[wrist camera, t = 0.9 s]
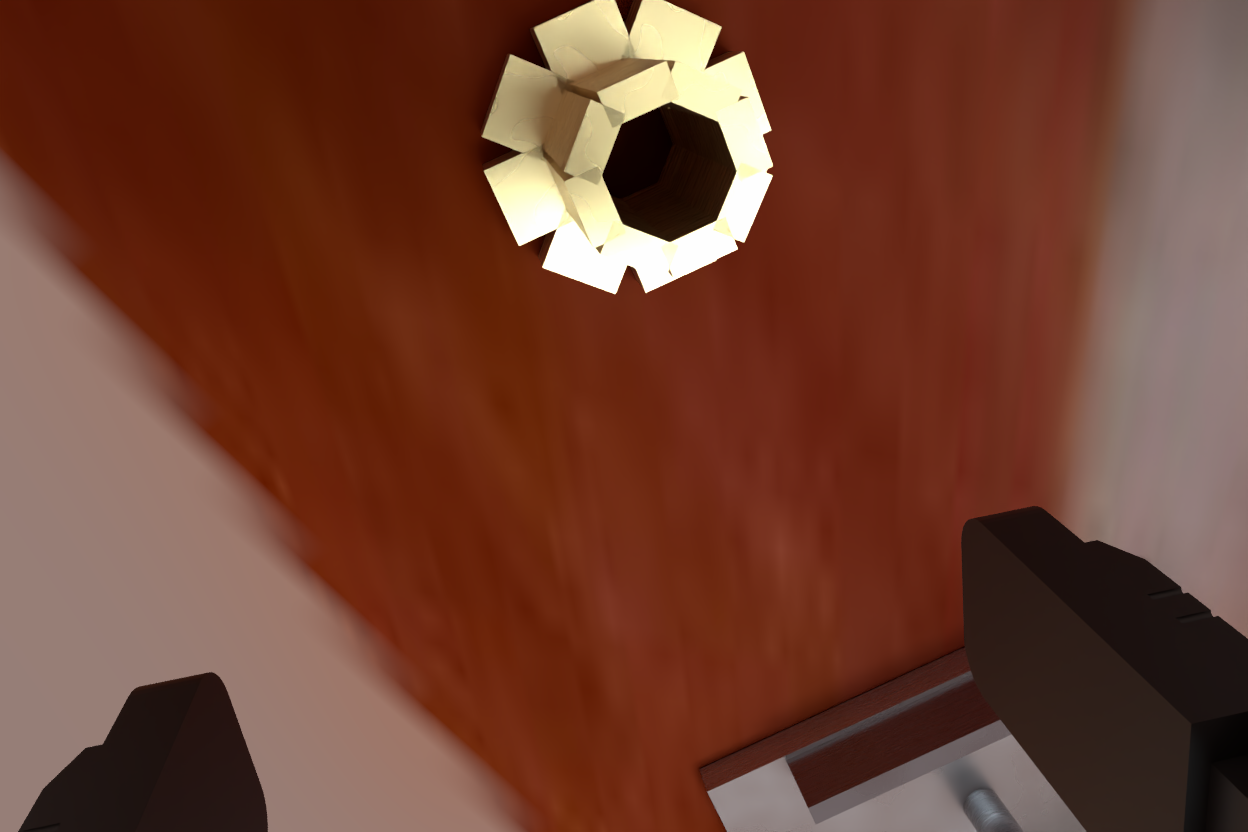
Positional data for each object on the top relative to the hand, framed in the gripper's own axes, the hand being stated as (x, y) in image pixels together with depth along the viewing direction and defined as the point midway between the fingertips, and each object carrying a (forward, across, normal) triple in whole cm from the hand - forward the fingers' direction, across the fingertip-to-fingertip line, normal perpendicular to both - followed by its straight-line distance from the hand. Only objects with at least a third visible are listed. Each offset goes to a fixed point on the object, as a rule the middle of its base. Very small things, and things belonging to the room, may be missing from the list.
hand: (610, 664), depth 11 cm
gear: (+20, -3, -3) cm, 21 cm away
